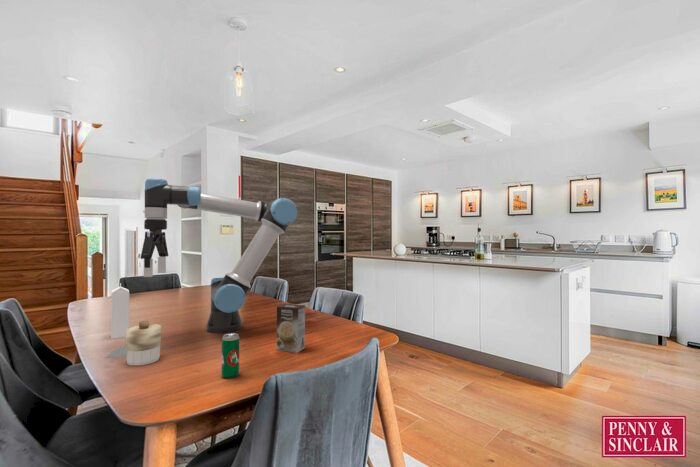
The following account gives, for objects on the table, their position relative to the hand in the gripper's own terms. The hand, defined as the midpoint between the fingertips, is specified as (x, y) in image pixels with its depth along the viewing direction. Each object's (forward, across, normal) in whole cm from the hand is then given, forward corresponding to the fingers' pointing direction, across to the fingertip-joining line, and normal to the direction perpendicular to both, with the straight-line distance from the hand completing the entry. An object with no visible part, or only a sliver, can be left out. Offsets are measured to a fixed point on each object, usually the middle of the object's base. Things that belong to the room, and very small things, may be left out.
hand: (155, 274), depth 129 cm
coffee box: (+27, +14, +51) cm, 59 cm away
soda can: (+27, +35, +33) cm, 55 cm away
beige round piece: (+22, +18, +3) cm, 28 cm away
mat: (+27, +7, -5) cm, 28 cm away
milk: (+27, -14, -18) cm, 35 cm away
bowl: (+27, +18, +3) cm, 32 cm away
